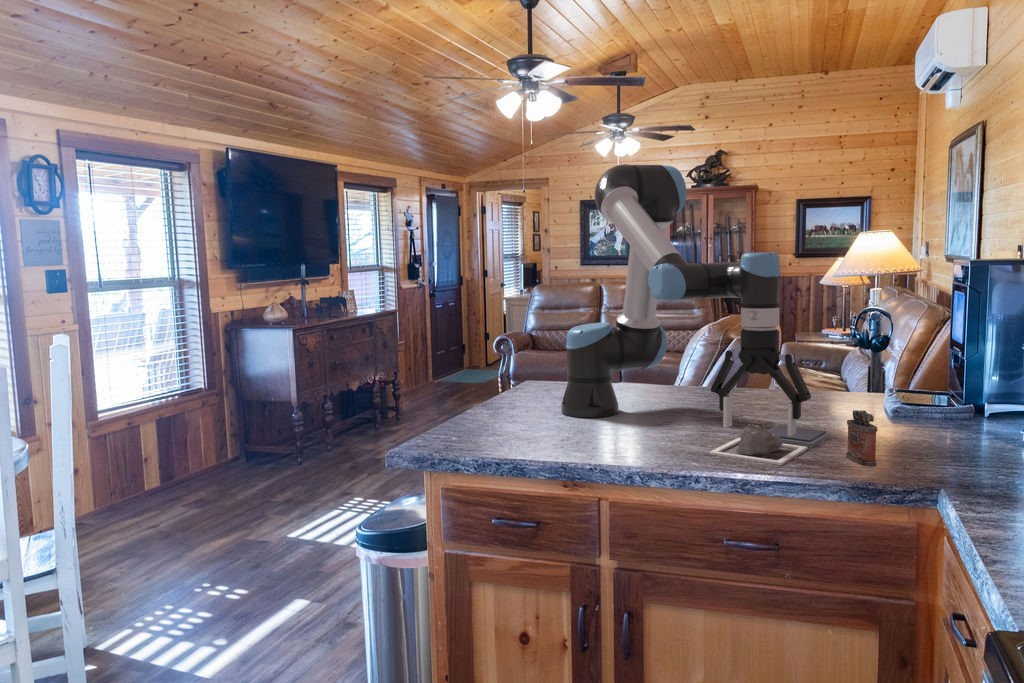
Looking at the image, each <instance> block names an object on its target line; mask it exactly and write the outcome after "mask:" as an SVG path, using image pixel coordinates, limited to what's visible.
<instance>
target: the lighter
mask: <svg viewBox="0 0 1024 683" xmlns="http://www.w3.org/2000/svg"><path fill="white" fill-rule="evenodd" d="M874 418H875V417H874V415H873V414H871V413H869V412H867V411H866V410H863V409H862V410H859V409H858V410H857V409H854V410H852V419H848V420H846V425H847V452H846V453H845V454H846V456H845V457H846V459H848V460H850V462H853V463H855V464H857V465H859V466H863V467H866V468H875V467H877V459H876V454H877V451H876V450H877V449H876V448H877V432H878V427H877V426H876V425H874V424H872V423H871V422H874V420H875V419H874Z"/></svg>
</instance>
